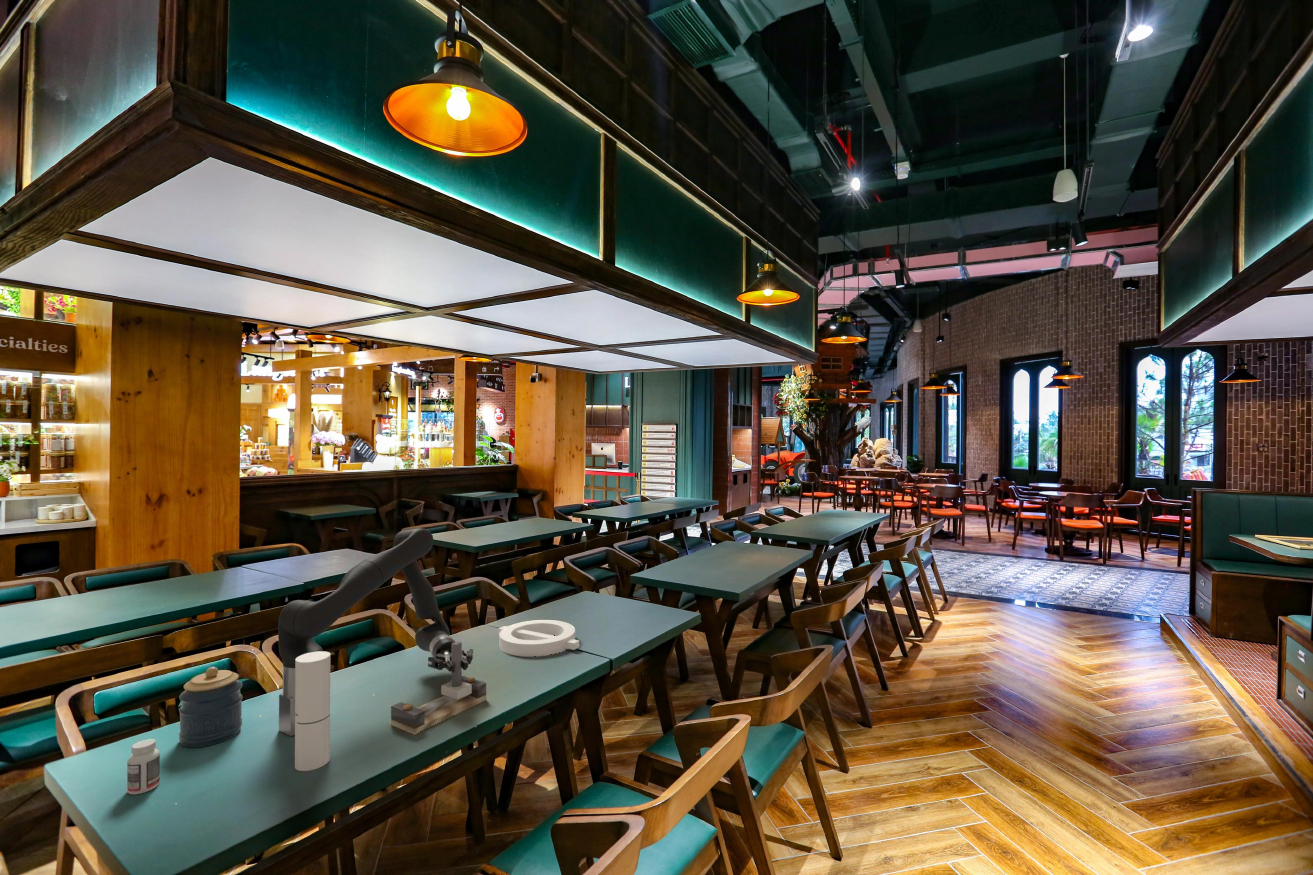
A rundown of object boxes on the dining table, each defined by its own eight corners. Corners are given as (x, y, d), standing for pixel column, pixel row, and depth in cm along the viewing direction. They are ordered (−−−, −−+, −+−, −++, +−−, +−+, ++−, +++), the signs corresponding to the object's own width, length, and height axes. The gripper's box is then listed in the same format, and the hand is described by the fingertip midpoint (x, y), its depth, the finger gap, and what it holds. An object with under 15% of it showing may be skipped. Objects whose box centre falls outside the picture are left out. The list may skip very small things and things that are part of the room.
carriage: (457, 699, 165) (457, 648, 165) (441, 693, 168) (441, 643, 168) (471, 693, 169) (471, 642, 169) (455, 687, 172) (455, 638, 173)
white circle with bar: (497, 635, 229) (497, 623, 229) (568, 628, 238) (568, 617, 238) (501, 661, 202) (501, 647, 202) (581, 652, 211) (581, 639, 211)
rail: (414, 734, 151) (414, 712, 151) (390, 724, 156) (391, 703, 156) (486, 699, 171) (486, 680, 171) (463, 691, 177) (463, 673, 177)
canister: (252, 721, 158) (252, 656, 158) (224, 746, 145) (225, 675, 145) (199, 725, 156) (199, 659, 156) (166, 750, 143) (166, 678, 143)
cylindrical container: (322, 751, 143) (323, 649, 143) (334, 761, 138) (335, 655, 139) (290, 763, 137) (290, 657, 138) (301, 774, 133) (302, 664, 133)
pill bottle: (157, 777, 131) (158, 734, 132) (161, 787, 128) (161, 742, 128) (125, 788, 128) (126, 743, 128) (128, 798, 124) (128, 752, 124)
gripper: (420, 641, 177) (433, 659, 162) (467, 633, 184) (484, 649, 170) (420, 666, 177) (433, 686, 162) (467, 657, 184) (483, 675, 170)
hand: (459, 667), depth 166 cm, fingers closed on carriage, 3 cm apart
